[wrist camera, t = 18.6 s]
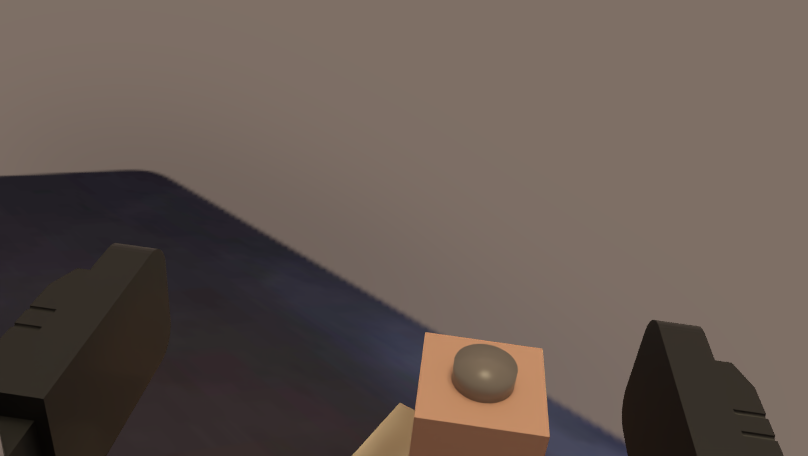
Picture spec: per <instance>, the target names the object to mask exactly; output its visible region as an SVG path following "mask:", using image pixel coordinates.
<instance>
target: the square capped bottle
mask: <svg viewBox="0 0 808 456" xmlns="http://www.w3.org/2000/svg"><path fill="white" fill-rule="evenodd" d="M549 438H550V435H549V422H548V410H547V397H546V385H545V373H544V360H543V349H541V348H534V347H526V346H519V345H512V344H505V343H498V342H490V341H483V340H477V339H470V338H462V337H456V336H449V335H441V334H434V333H427V332H425V339H424V347H423V354H422V361H421V369H420V376H419V383H418V391H417V398H416V405H415V413H414V420H413V427H412V435H411V442H410V449H409V456H545V452H546V449H547V445H548V441H549Z"/></svg>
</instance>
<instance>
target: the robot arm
mask: <svg viewBox="0 0 808 456" xmlns="http://www.w3.org/2000/svg"><path fill="white" fill-rule="evenodd" d="M170 328H171V322H170V310H169V298H168V287H167V275H166V264H165V257H164V254H163V252H162V251H161V250H160V249H154V248H147V247H139V246H132V245H125V244H118V243H115V244H112V245H111V246H110V247H109V248H108V249H107V250H106V251H105V253H104V254H103V255H102V256H101V257H100V258H99V260H98V261H97V262H96V263H95V264H94V266H93V267H92V268H91V269H90V270H86V269H79V268H77V269H75V270H74V271H72V272H70V273H68V274H67V275H65V276H63V277H61V278H60V279H58V280H56V281H54V282H53V283H51V284H49V285H48V286H47V287H46V288H45V290H44V291H43V292H42V293H41V294H40V295H39V296H38V297H37V298H36V300H35V301H34V302H33V303H32V304H31V305H30V309H29V310H26V311H25V312H24V313H23V314H22V315H21V316H20V317H19V318H18V320H17V321H16V322H15V325H14V327H10V328H9V330H8V331H7V332H6V333H5V334H4V335H3V336H2V337H1V338H0V456H106V455H107V454H108V452H109V450H110V449H111V447H112V445H113V443H114V442H115V440H116V438H117V437H118V435H119V433H120V431H121V430H122V428H123V426H124V425H125V423H126V421H127V419H128V418H129V416H130V414H131V413H132V411H133V409H134V408H135V406H136V404H137V402H138V401H139V399H140V397H141V396H142V394H143V392H144V390H145V389H146V387H147V385H148V384H149V382H150V380H151V378H152V377H153V375H154V373H155V372H156V370H157V368H158V366H159V365H160V363H161V361H162V359H163V357H164V355H165V353H166V350H167V346H168V342H169V337H170ZM765 415H766V413H765V411H764V409H763V406H762V404H761V401H760V399H759V397H758V394H757V392H756V390H755V388H754V386H753V385H752V384H751V383H750V382H749V381H748V380H747V379H746V378H745V377H744V376H743V375H742V373H741V372H740V371H739V370H738V369H737V368H736V367H735V366H734V365H733V364H732V363H729V362H721V361H715V360H714V357H713V354H712V352H711V349H710V346H709V344H708V341H707V338H706V336H705V333H704V331H703V329H702V328H701V327H699V326H692V325H685V324H678V323H670V322H664V321H657V320H652V321H651V322H650V323H649V324H648V326H647V328H646V330H645V333H644V336H643V339H642V342H641V345H640V348H639V351H638V354H637V358H636V360H635V363H634V367H633V369H632V372H631V375H630V378H629V381H628V384H627V387H626V390H625V395H624V399H623V407H622V425H623V432H624V438H625V443H626V448H627V453H628V456H783V453H782V451H781V448H780V446H779V444H778V442H777V441H775V439H774V438H775V435H774V432H773V430H772V427H771V425H770V423H769V420H768V419H766V418H765Z"/></svg>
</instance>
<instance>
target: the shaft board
mask: <svg viewBox="0 0 808 456" xmlns="http://www.w3.org/2000/svg"><path fill="white" fill-rule="evenodd" d="M414 413H415V410H413V409H411V408H409V407H407V406H405V405H403V404H401V403H399V404H398V405H397V407H396V408H395V409H394V410H393V411H392V412H391V413H390V414H389V415H388V417H387V418H386V419H385V420H384V421H383V422H382V423H381V424H380V425H379V427H378V428H377V429H376V430H375V431H374V432H373V433H372V434H371V435H370V436H369V438H368V439H367V440H366V441H365V442H364V443H363V444H362V445H361V446H360V448H359V449H358V450H357V451H356V452H355V453H354V454H353V455H352V456H409V449H410V442H411V435H412V427H413V420H414Z"/></svg>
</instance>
